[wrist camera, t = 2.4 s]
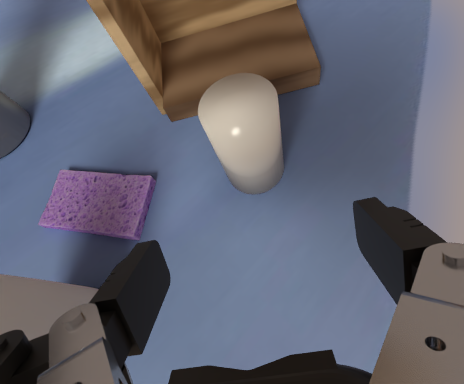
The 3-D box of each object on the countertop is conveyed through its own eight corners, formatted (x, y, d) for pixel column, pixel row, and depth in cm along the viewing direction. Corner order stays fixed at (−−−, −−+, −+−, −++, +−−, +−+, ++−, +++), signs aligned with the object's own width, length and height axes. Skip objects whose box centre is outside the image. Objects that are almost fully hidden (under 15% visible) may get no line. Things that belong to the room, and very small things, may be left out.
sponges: (142, 242, 30) (132, 237, 28) (47, 229, 33) (33, 224, 31) (159, 182, 32) (152, 174, 30) (70, 175, 35) (58, 168, 34)
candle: (216, 167, 31) (183, 106, 22) (258, 134, 31) (243, 61, 22) (251, 205, 28) (229, 153, 19) (296, 168, 29) (295, 101, 20)
